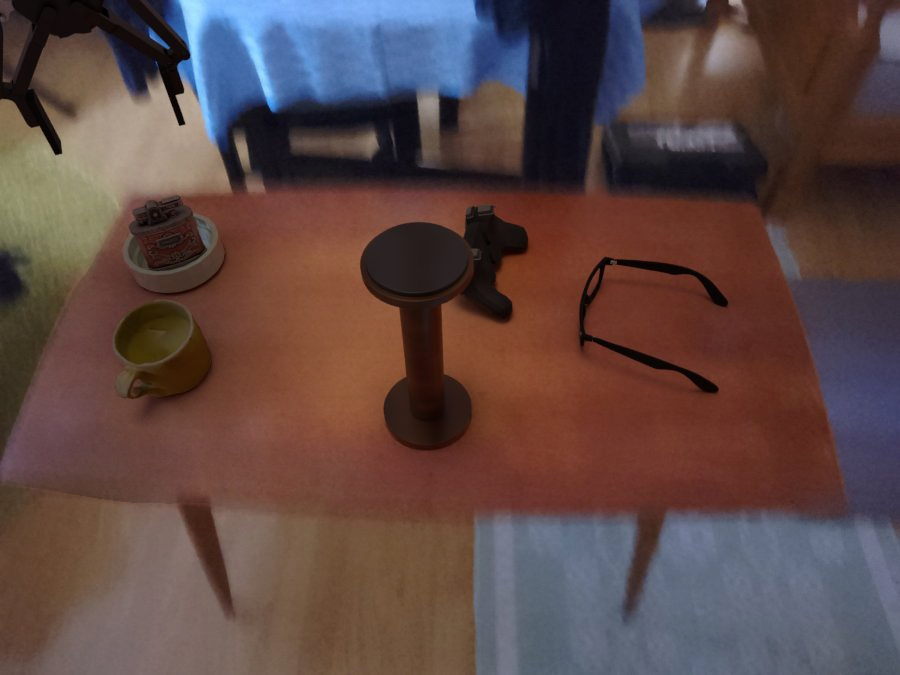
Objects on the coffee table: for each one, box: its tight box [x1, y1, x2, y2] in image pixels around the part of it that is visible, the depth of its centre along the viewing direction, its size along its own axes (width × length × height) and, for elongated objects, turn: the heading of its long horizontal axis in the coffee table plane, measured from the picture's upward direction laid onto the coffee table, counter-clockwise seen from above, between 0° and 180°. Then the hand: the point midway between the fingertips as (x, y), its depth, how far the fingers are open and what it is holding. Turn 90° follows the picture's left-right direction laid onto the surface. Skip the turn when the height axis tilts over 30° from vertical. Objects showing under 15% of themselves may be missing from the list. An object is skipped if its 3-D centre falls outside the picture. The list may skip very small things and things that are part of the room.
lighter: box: [128, 194, 207, 271], centre depth 90 cm, size 8×3×10 cm, turn 118°
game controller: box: [459, 204, 529, 320], centre depth 90 cm, size 16×7×10 cm, turn 167°
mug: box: [111, 298, 212, 400], centre depth 79 cm, size 12×10×10 cm
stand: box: [359, 221, 474, 451], centre depth 69 cm, size 10×10×24 cm
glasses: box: [578, 256, 729, 393], centre depth 84 cm, size 17×18×5 cm
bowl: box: [122, 212, 226, 294], centre depth 93 cm, size 12×12×4 cm
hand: (120, 133), depth 78 cm, fingers open, 13 cm apart
